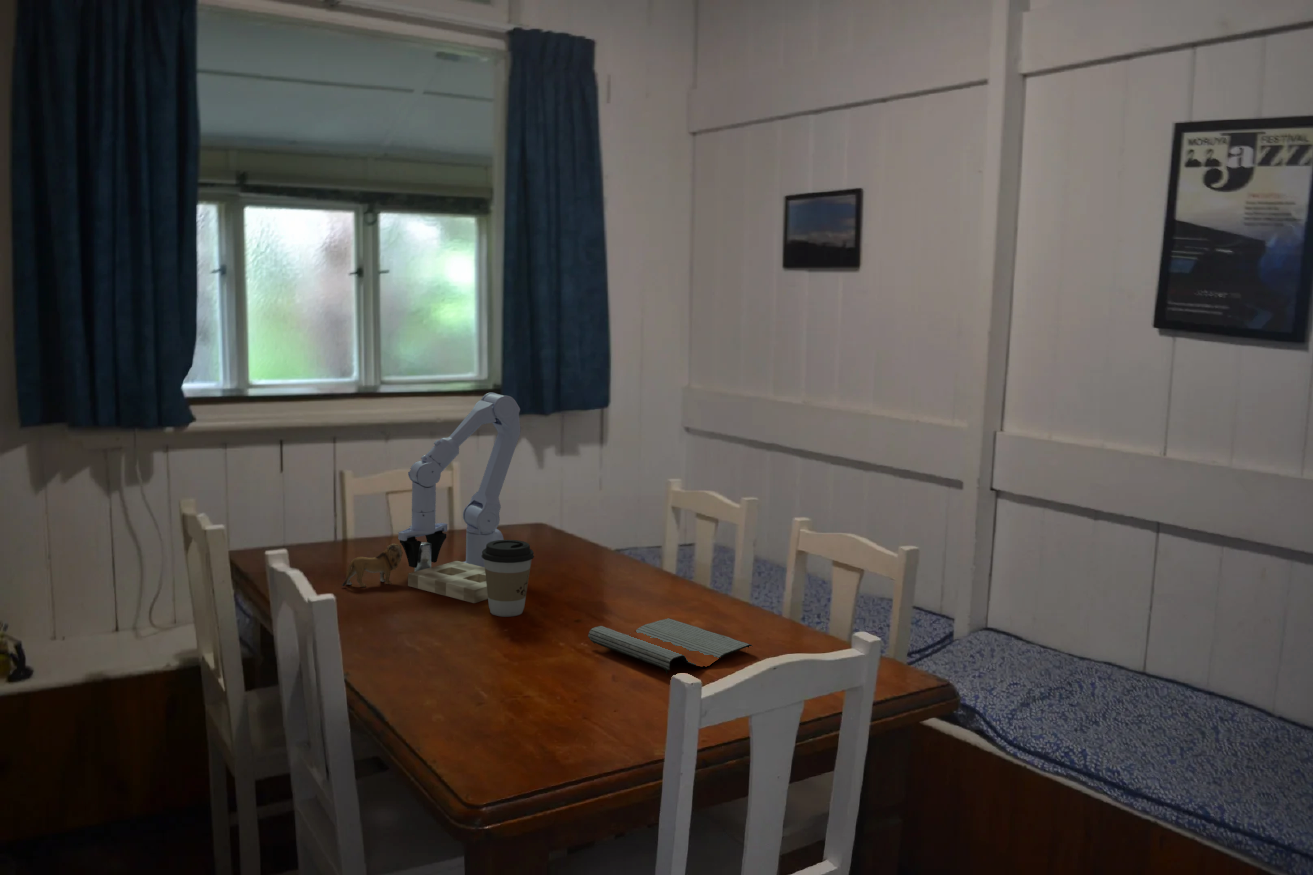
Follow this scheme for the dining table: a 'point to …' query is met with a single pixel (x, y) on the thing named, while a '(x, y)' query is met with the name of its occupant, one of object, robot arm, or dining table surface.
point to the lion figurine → (375, 565)
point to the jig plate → (452, 581)
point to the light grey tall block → (424, 556)
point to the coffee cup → (507, 575)
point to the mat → (666, 632)
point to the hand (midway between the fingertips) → (422, 564)
